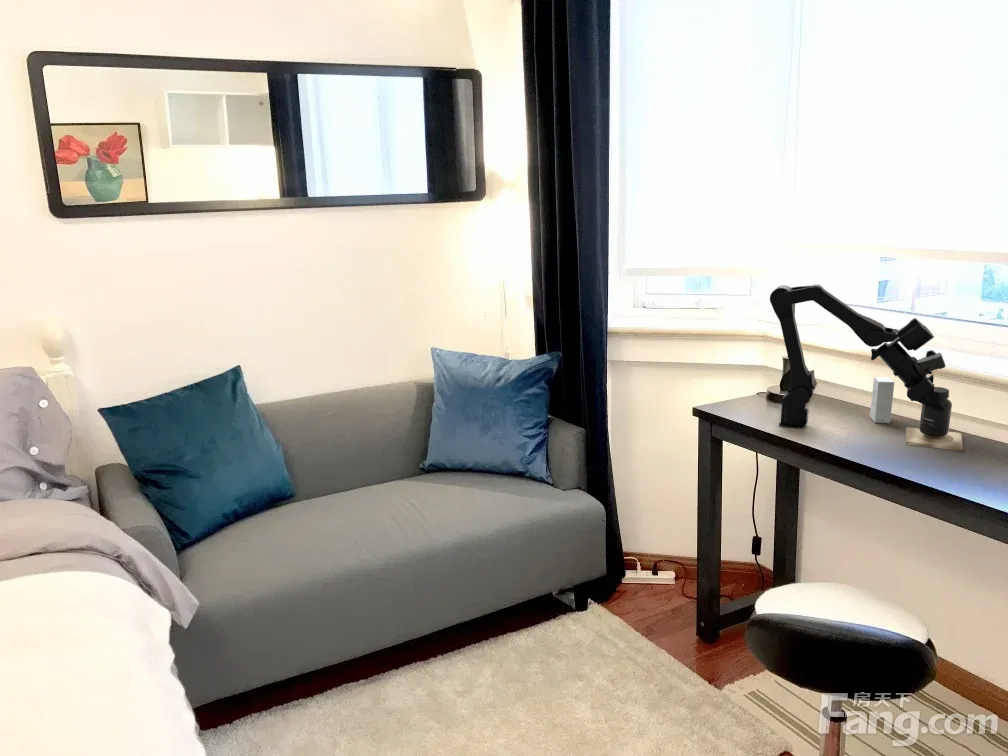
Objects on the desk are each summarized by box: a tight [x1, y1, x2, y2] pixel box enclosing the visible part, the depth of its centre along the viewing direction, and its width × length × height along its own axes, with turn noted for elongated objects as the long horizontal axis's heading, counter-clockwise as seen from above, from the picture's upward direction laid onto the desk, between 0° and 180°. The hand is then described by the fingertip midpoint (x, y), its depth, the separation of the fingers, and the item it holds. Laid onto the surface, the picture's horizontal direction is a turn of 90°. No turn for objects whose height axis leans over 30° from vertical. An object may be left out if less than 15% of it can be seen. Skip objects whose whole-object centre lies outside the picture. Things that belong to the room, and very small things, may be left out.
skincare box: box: [869, 376, 895, 424], centre depth 226 cm, size 6×4×12 cm
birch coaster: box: [905, 427, 964, 452], centre depth 210 cm, size 13×13×1 cm
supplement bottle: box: [918, 386, 953, 437], centre depth 208 cm, size 7×7×12 cm
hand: (942, 407), depth 207 cm, fingers closed on supplement bottle, 7 cm apart
